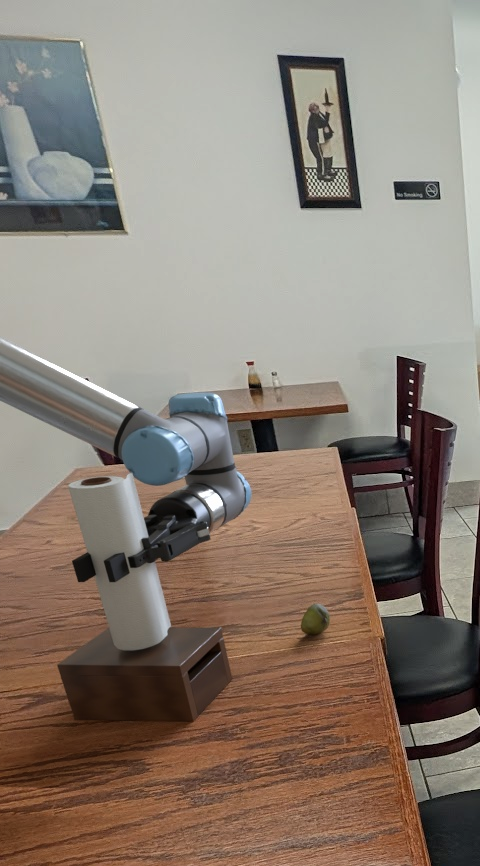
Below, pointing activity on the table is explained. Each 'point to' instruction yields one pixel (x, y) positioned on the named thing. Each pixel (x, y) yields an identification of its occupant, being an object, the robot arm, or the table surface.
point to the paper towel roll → (122, 532)
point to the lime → (315, 620)
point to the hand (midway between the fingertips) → (94, 571)
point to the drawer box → (147, 677)
